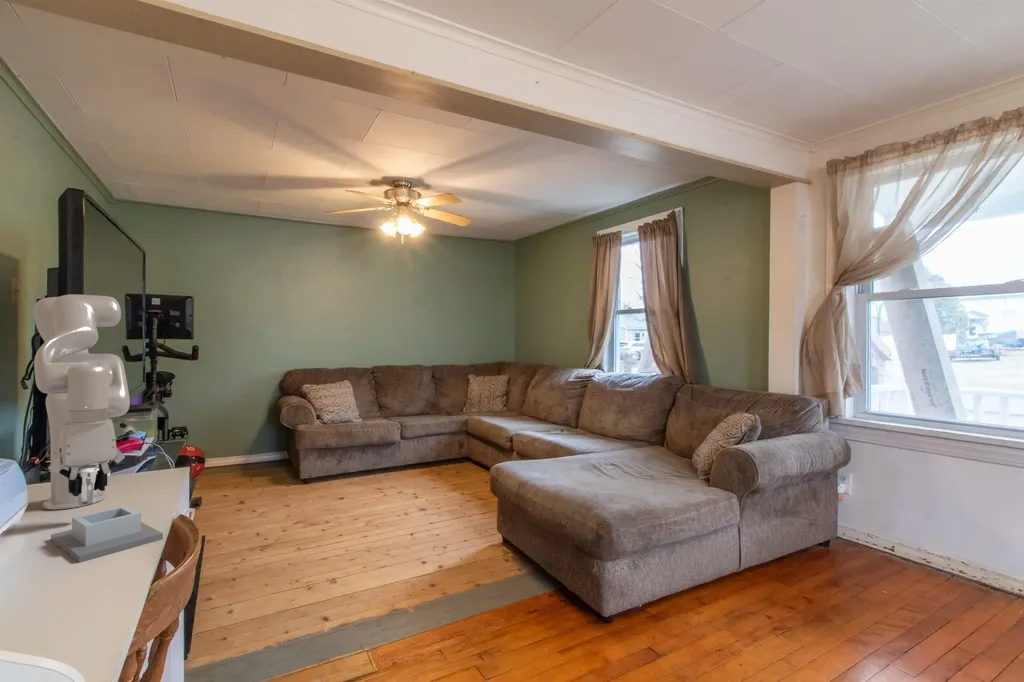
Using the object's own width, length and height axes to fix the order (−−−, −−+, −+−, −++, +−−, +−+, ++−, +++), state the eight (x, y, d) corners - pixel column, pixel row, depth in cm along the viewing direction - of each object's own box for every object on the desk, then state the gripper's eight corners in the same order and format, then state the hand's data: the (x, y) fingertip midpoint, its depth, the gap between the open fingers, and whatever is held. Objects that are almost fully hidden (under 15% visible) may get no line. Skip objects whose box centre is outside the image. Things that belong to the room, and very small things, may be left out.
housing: (51, 540, 107) (50, 516, 107) (129, 520, 119) (128, 499, 119) (79, 562, 96) (79, 535, 96) (162, 538, 107) (162, 514, 107)
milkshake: (87, 507, 115) (88, 465, 115) (69, 505, 116) (69, 463, 116) (106, 501, 120) (107, 460, 120) (89, 499, 121) (90, 458, 121)
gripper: (125, 410, 127) (125, 481, 127) (36, 419, 113) (36, 498, 113) (136, 413, 122) (136, 486, 123) (45, 423, 109) (45, 505, 109)
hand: (88, 491), depth 118 cm, fingers closed on milkshake, 4 cm apart
